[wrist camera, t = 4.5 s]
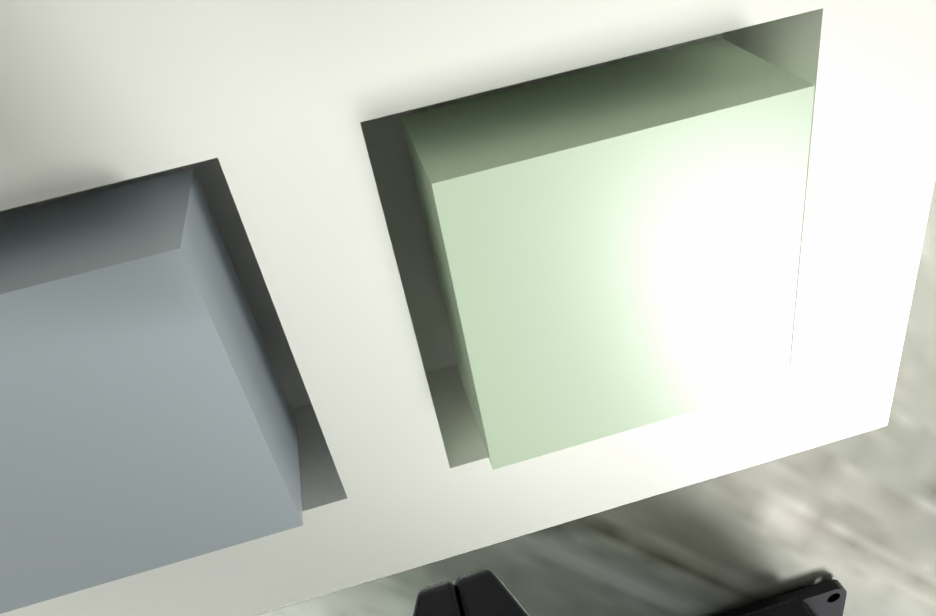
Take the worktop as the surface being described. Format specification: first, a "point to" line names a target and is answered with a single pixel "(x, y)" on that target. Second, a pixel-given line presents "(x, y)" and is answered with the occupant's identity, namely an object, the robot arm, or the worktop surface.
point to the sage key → (617, 242)
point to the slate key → (131, 394)
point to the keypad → (409, 252)
